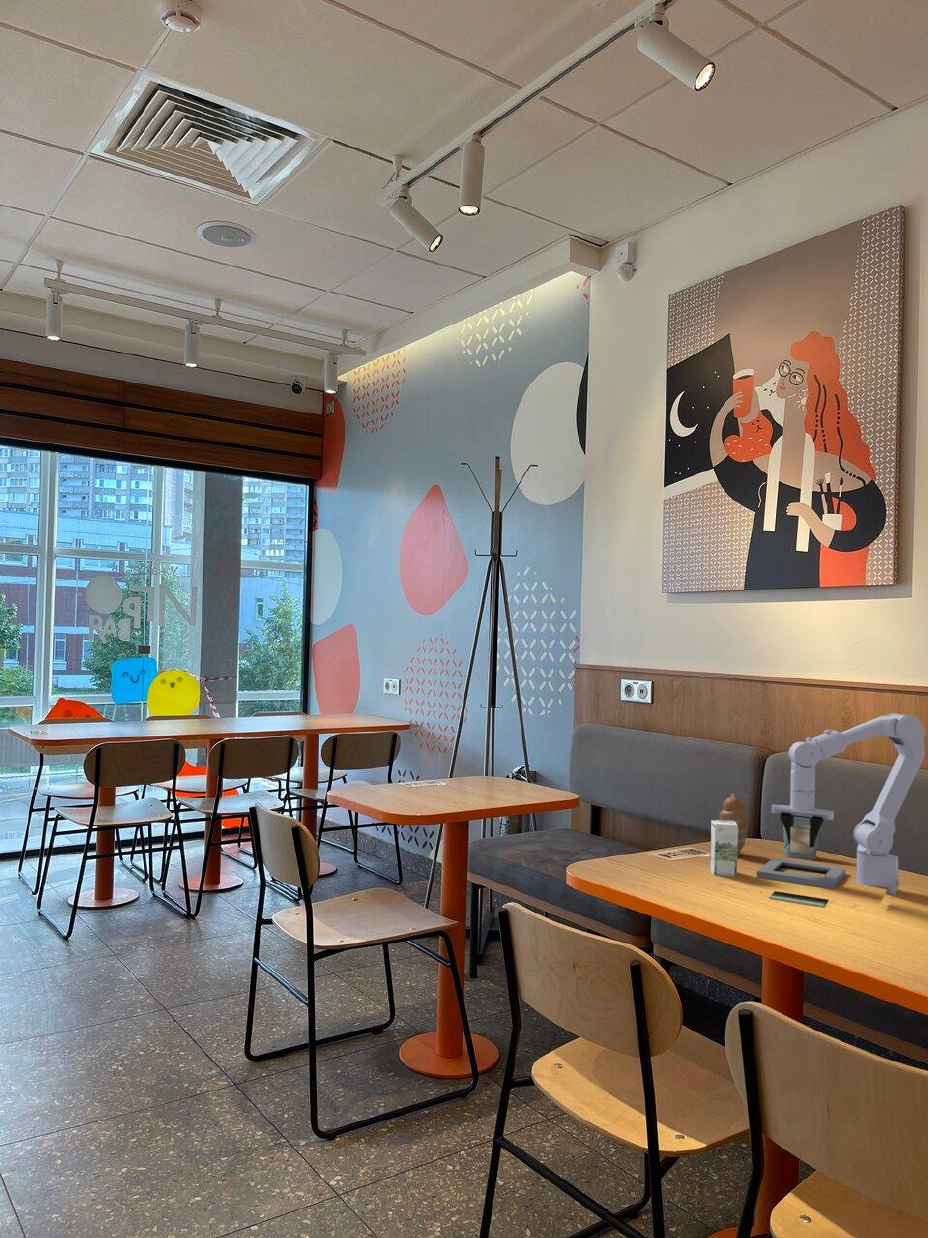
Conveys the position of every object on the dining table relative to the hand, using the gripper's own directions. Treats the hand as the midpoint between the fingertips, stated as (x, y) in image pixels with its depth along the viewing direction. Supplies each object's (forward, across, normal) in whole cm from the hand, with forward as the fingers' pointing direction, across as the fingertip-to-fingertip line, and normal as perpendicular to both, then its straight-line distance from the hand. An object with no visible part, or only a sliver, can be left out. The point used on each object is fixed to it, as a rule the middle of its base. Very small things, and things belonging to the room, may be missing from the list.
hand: (801, 845), depth 226 cm
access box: (+10, +1, -4) cm, 11 cm away
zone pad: (+10, -2, +13) cm, 16 cm away
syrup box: (+10, +18, +6) cm, 21 cm away
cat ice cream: (+10, +22, -18) cm, 30 cm away
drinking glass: (+10, +7, -34) cm, 36 cm away
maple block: (+2, 0, 0) cm, 2 cm away
